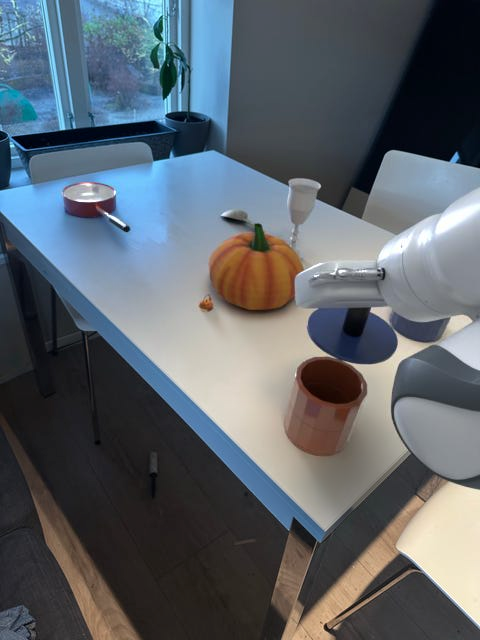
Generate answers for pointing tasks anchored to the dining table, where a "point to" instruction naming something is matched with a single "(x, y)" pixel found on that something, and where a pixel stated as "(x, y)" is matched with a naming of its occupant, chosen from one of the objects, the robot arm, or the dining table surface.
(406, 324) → the blue round container
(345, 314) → the lid
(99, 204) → the frying pan
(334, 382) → the pot
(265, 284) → the pumpkin
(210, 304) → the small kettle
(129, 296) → the dining table surface
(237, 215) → the soupspoon
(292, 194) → the chalice
